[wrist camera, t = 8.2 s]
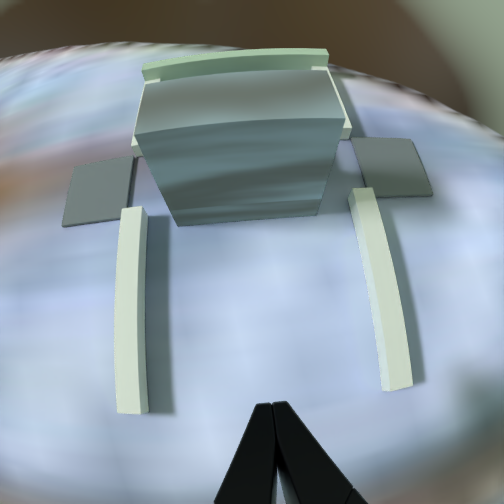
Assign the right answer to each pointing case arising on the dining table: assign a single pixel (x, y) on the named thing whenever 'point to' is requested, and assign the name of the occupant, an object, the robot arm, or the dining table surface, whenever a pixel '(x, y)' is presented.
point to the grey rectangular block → (241, 143)
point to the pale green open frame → (362, 210)
